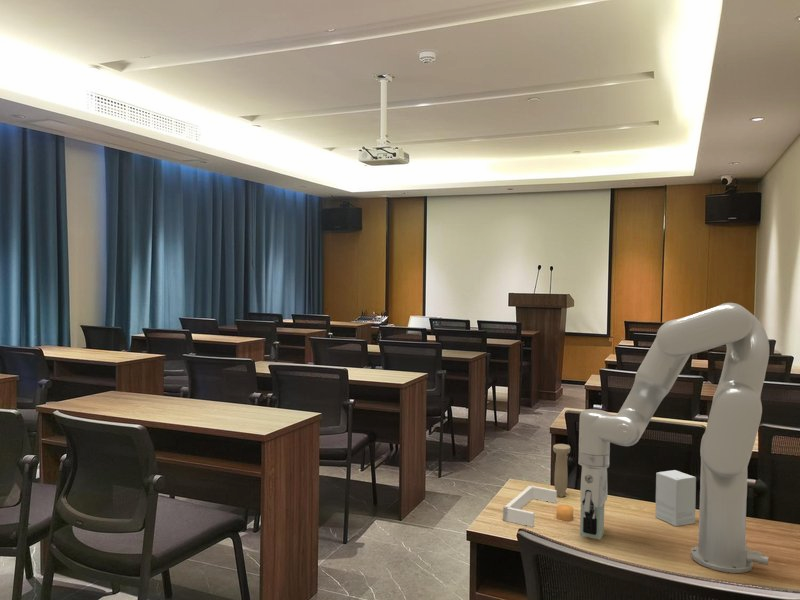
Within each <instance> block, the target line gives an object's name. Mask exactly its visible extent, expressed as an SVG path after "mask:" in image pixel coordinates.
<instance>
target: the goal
mask: <svg viewBox="0 0 800 600" xmlns="http://www.w3.org/2000/svg"><path fill="white" fill-rule="evenodd" d="M557 497H558V496H557V490H555V489H550V488H546V487H541V486H535V485H531V484H529V485H528V486H527V487H526V488H525V489H523V490H522V491H521V492H520V493H519V494H517V495H516V496H515V497H514V498H513V499H512V500H510V501H509V502H508V503H507V504H505V506H503V508H502V511H503V512H502V515H503V516H502V521H504V522H508V523H512V524H518V525H521V526H522V525H523V526H525V525H527V526H526V527H530V526H531V527H530V528H533V527H534V526H535V512H534V511H529V510H524V509H522V508H524V507H525V506H526V505H527V504H529V502H530V501H531V500H536V499H538V500H537V501H541V500H543V501H542V502H546V501H548V502H547V503H551V502H554V503H553V504H557V503H558V502H557V499H558V498H557Z"/></svg>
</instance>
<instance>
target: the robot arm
mask: <svg viewBox="0 0 800 600" xmlns="http://www.w3.org/2000/svg"><path fill="white" fill-rule="evenodd" d="M722 346H726V351H725V357H724V361H723V367H722V371H721V373H720V374H721V375H720V378H719V381H718V384H717V388H716V390H715V392H714V394H713V397H712V403H711V408H710V411H709V415H708V419H707V423H706V427H705V430H704V433H703V434H702V438H701V441H700V450H699V452H700V454H699V456H700V479H699V480H700V483H699V486H700V487H699V488H700V489H699V513H698V516H699V517H698V519H699V521H698V544H697V546H694V547H692V548H691V549H690V556H691V558H692V559H693V561H695V562H696V563H697V564H699V565H701V566H704V567H706V568H708V569H711V570H713V571H717V572H718V571H719V572H723V573H728V572H729V574H744V573H747V572H750V571H751V570H752V568H753V563H757V564H760V565H765V566H769V555H765V554H764V555H763V553H762V551H758V550H751V549H750V548H749V547H748V545H747V544H748V543H747V542H746V533H747V531H746V529H747V528H746V527H747V526H746V525H747V523H746V522H747V497H748V466H749V463H750V460H751V457H752V454H753V449H754V446H755V443H756V438H757V436H758V431H759V427H760V424H761V420H762V416H763V415H762V414H763V405H762V400H761V395H762V390H763V386H764V382H765V379H766V372H767V368H768V364H769V358H770V341H769V338H768V334H767V332H766V330H765V328H764V326H763V324H762V323H761V322H760V320H759V319H758V317H756V316H755V315H754V313H753V314H752V313H751V311H749V310H748V309H746V308H745V307H744V306H743V305H740V304H739V303H734V302H723V303H722V304H719V305H717V306H714V307H711V308H708V309H705V310H701V311H699V312H696V313H694V314H693V313H692V314H690V315H687V316H683V317H680V318H677V319H671V320H668V321H666V322H664V323H663V324H662V325H660V327H659V328H658V329H657V332H656V337H655V338H654V341H653V343H652V344H651V347H650V348H649V350H648V351H647V353H646V355H645V357H644V359H643V360H642V362H641V364H640V366H639V367H638V369H637V371H636V374H635V377H634V382H633V385H632V388H631V390H630V391H629V394H628V395H627V397H626V399H625V401H624V402H623V404H622V406H621V407H620V409H619V411H618V412H617V414H616V415H614V414H613V415H611V414H610V413H609V412H608V411H605V410H601V409H594V408H589V409H583V410H582V411H581V412H580V413H579V425H578V426H579V429H578V462H577V463H578V465H579V466H581V473H580V474H581V475H580V494H579V495H580V496H579V498H580V505H581V504H582V505H584V517H583V532H584V533H588V534H593V535H596V533H597V519H596V507H597V508H598V509H599V508H601V507H602V506H603V504H604V505H605V504H606V501H607V500H608V468H609V467H610V458H611V457H610V454H611V453H610V451H611V447H610V446H611V444H614V445H618V446H622V447H630V446H631V447H632V446H634V445H636V444H637V443H638V442H639V440H640V439H641V438H642V435H643V434H644V432H645V431H646V428H647V427H648V425H649V423H650V422H651V420H652V418H653V416H654V414H655V412H656V411H657V409H658V407H659V406H660V404H661V403H662V401H663V400H664V398H665V397H666V396H667V395H668V394H669V392H670V390H672V388H673V386H674V384H675V382H676V381H677V379H678V378H679V375H680V374H681V373H682V371H683V369H684V367H685V365H686V363H687V361H688V360H689V358H690V356H691V355H694V354H698V353H702V352H705V351H709V350H711V349H714V348H718V347H722ZM591 503H592V504H594V506H592V505H591ZM590 508H592V509H593V512H592V510H591V509H590ZM747 547H748V548H747Z"/></svg>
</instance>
